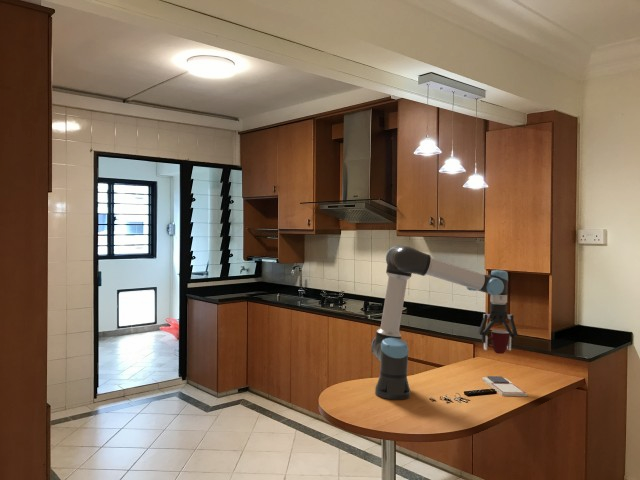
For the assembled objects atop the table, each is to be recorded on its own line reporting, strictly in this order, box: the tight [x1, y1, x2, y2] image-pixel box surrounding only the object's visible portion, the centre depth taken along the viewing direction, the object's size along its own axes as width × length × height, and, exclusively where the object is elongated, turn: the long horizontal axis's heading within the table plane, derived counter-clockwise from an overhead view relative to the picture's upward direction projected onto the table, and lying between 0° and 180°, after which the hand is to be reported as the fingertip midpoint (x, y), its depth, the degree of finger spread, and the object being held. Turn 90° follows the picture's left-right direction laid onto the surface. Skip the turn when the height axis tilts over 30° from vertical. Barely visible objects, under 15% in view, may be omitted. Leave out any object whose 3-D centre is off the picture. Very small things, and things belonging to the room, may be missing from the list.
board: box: [481, 375, 529, 397], centre depth 240 cm, size 12×24×2 cm, turn 3°
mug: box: [487, 329, 510, 355], centre depth 243 cm, size 10×8×10 cm
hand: (497, 349), depth 243 cm, fingers closed on mug, 11 cm apart
